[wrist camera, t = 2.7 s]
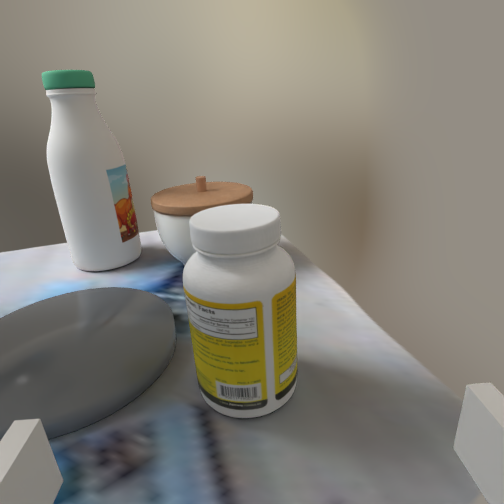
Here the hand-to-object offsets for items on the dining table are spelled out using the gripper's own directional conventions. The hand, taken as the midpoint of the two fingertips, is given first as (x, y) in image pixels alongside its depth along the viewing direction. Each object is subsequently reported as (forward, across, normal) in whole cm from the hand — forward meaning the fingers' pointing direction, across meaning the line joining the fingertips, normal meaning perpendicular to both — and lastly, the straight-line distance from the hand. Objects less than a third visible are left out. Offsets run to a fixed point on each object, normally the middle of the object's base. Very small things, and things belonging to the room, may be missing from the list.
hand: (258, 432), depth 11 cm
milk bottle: (+32, -16, -7) cm, 36 cm away
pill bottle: (+10, 0, -7) cm, 12 cm away
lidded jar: (+30, -4, -7) cm, 31 cm away
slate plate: (+14, -13, -7) cm, 20 cm away
